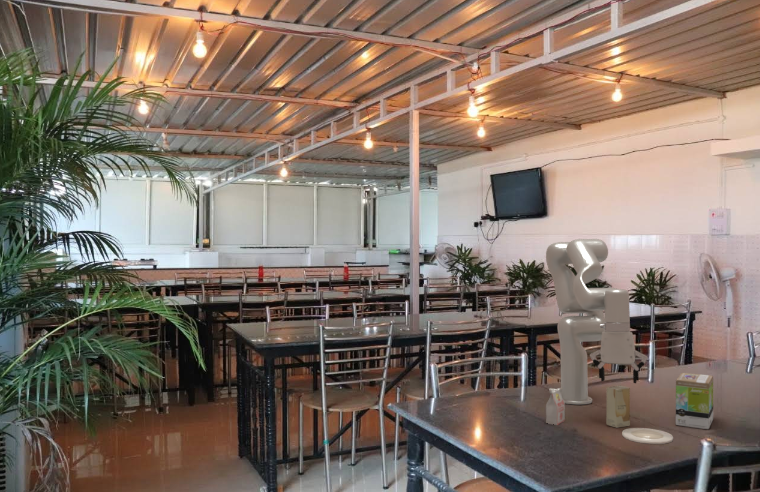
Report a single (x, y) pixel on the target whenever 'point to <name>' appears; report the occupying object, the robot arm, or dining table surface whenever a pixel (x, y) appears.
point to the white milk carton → (555, 409)
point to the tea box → (694, 400)
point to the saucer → (647, 436)
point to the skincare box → (618, 406)
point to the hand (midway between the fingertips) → (618, 381)
